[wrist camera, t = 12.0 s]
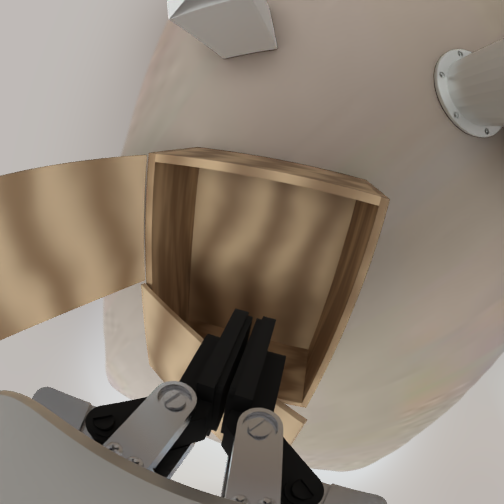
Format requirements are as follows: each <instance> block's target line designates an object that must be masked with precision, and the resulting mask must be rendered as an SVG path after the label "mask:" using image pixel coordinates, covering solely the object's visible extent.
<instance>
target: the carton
mask: <svg viewBox="0 0 504 504" xmlns="http://www.w3.org/2000/svg"><path fill="white" fill-rule="evenodd" d="M389 201H390V199H389V198H388V197H386V196H385V195H384V194H383V193H382V192H380V191H379V190H378V189H377V188H375V187H374V186H373V185H372V184H370V183H369V182H368V181H367V180H364V179H360V178H357V177H353V176H349V175H345V174H341V173H337V172H333V171H329V170H325V169H321V168H316V167H312V166H307V165H303V164H298V163H293V162H288V161H283V160H278V159H273V158H267V157H262V156H256V155H250V154H244V153H237V152H231V151H224V150H216V149H209V148H200V147H196V148H186V149H177V150H168V151H160V152H153V153H149V157H148V171H147V189H146V220H145V252H146V284H147V286H148V287H149V288H150V289H151V290H152V291H153V292H154V293H155V294H156V295H157V296H158V297H159V298H160V299H161V300H162V301H163V302H164V303H165V304H166V305H167V306H168V307H169V308H171V309H172V310H173V311H174V312H175V313H176V314H177V315H178V316H179V317H180V318H181V319H182V320H183V321H184V322H185V323H186V324H188V325H189V326H190V327H191V328H192V329H193V330H194V331H195V332H196V333H197V334H199V335H200V336H201V337H202V338H203V339H204V338H205V337H206V335H207V334H211V335H214V336H217V337H221V335H222V333H223V331H224V329H225V327H226V325H227V323H228V321H229V319H230V317H231V315H232V314H233V312H234V310H235V309H240V310H243V311H247V312H249V315H248V316H251V317H253V320H252V325H251V329H250V334H249V337H250V335H251V332H252V330H253V327H254V324H255V322H256V319H257V318H259V319H262V318H263V316H265V317H269V318H273V319H276V323H275V326H274V330H273V333H272V337H271V340H270V344H269V347H268V351H269V352H273V353H277V354H281V355H285V356H286V360H285V365H284V370H283V374H282V379H281V383H280V388H279V392H278V396H277V399H278V400H280V401H281V402H283V403H285V404H290V405H295V406H300V407H305V408H306V407H307V405H308V403H309V401H310V399H311V397H312V396H313V394H314V392H315V390H316V388H317V386H318V384H319V382H320V380H321V378H322V376H323V374H324V372H325V370H326V368H327V366H328V364H329V362H330V360H331V358H332V356H333V354H334V352H335V349H336V347H337V345H338V343H339V341H340V339H341V336H342V334H343V332H344V329H345V327H346V325H347V322H348V320H349V318H350V315H351V313H352V310H353V308H354V306H355V303H356V300H357V298H358V295H359V293H360V290H361V288H362V285H363V282H364V279H365V277H366V274H367V271H368V268H369V266H370V263H371V260H372V257H373V254H374V251H375V248H376V245H377V242H378V238H379V235H380V232H381V229H382V225H383V222H384V219H385V215H386V212H387V208H388V204H389ZM248 340H249V338H248Z"/></svg>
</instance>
